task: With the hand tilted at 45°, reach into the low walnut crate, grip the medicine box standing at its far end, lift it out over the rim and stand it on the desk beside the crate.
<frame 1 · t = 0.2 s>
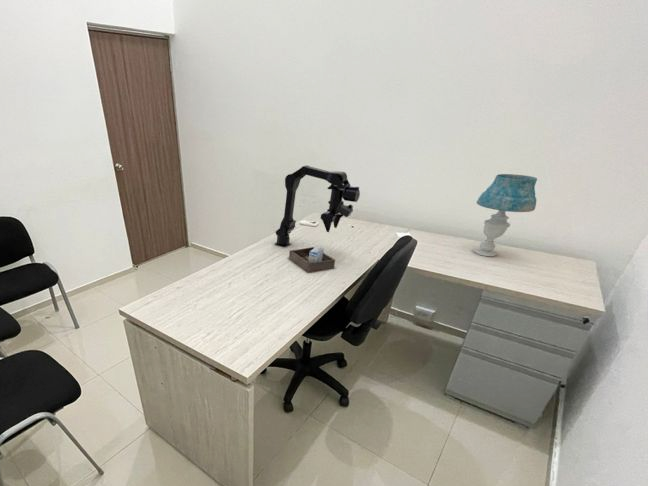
hand: (331, 229, 169), 15 cm above the table, tool pointing down, fingers open, 9 cm apart
table lamp: (484, 253, 179), on the table
crate: (310, 263, 168), on the table
medicine box: (314, 266, 166), resting in crate
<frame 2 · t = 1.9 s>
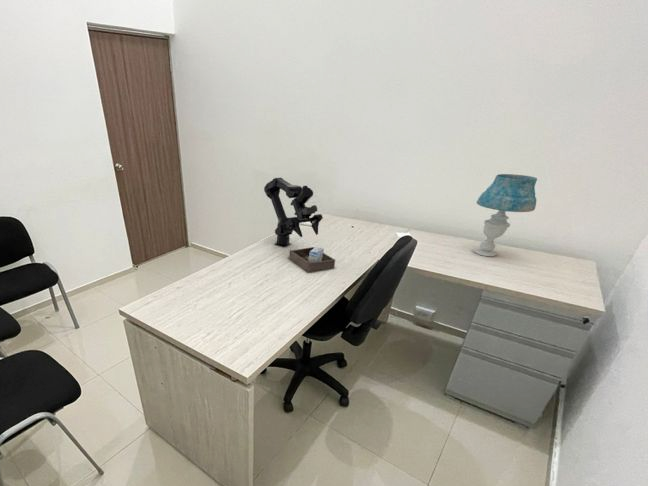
hand: (309, 235, 165), 13 cm above the table, tool tilted 45°, fingers open, 9 cm apart
nothing on the table moved.
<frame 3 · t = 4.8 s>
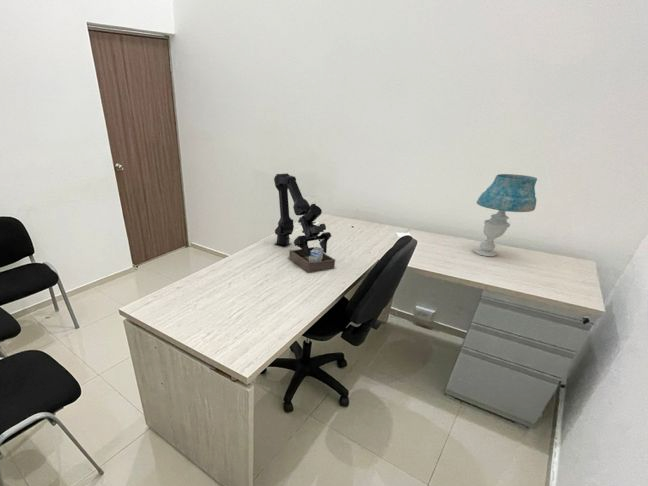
hand: (317, 254, 161), 7 cm above the table, tool tilted 45°, fingers closed on medicine box, 9 cm apart
medicine box: (314, 266, 166), resting in crate, touching gripper
everything else where it was.
when the fingers open (7 cm above the table, at t = 12.0 s): medicine box stays where it is, on the table.
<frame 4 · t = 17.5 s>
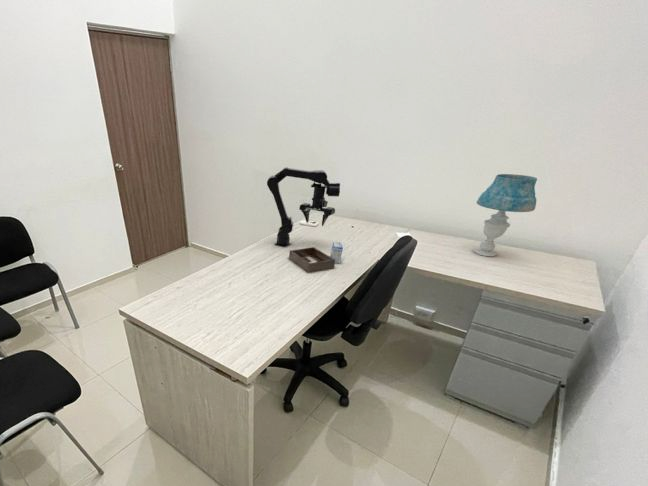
hand: (314, 224, 183), 13 cm above the table, tool pointing down, fingers open, 9 cm apart
medicine box: (335, 260, 172), on the table
everything else where it was.
at the end: medicine box inside the target area (0.5 cm from its centre), on the table; medicine box tilted 0°; the gripper is holding nothing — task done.
